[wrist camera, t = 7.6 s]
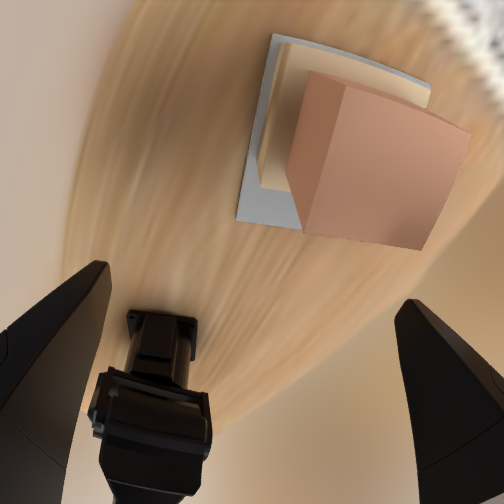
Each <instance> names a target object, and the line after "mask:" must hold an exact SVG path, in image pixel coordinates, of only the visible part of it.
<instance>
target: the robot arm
mask: <svg viewBox="0 0 504 504" xmlns="http://www.w3.org/2000/svg"><path fill="white" fill-rule="evenodd" d="M111 290H112V282H111V273H110V266H109V263H108V262H106V261H99V260H94V261H92V262H91V263H90V264H88V265H87V266H86V267H84V268H83V269H81V270H80V271H79V272H77V273H76V274H75V275H73V276H72V277H71V278H69V279H68V280H67V281H65V282H64V283H63V284H61V285H60V286H59V287H57V288H56V289H55V290H53V291H52V292H51V293H49V294H48V295H47V296H46V297H44V298H43V299H42V300H40V301H39V302H38V303H37V304H35V305H34V306H33V307H32V308H30V309H29V310H28V311H27V312H26V313H24V314H23V315H22V316H21V317H20V318H18V319H17V320H16V321H14V322H13V323H12V324H11V325H10V326H8V327H7V330H6V329H5V330H4V331H2V332H1V333H0V504H61V499H62V492H63V486H64V480H65V475H66V468H67V463H68V458H69V453H70V448H71V444H72V439H73V435H74V431H75V426H76V422H77V418H78V414H79V410H80V407H81V403H82V399H83V395H84V392H85V388H86V385H87V381H88V378H89V374H90V371H91V368H92V365H93V361H94V358H95V355H96V352H97V349H98V346H99V342H100V339H101V335H102V330H103V325H104V321H105V316H106V312H107V308H108V303H109V299H110V295H111ZM126 317H127V323H128V328H129V334H130V340H131V344H130V348H129V352H128V356H127V360H126V364H125V368H124V372H123V371H120V370H117V369H115V368H114V367H111V366H109V367H108V371H107V372H104V373H99V376H98V380H97V384H96V387H95V391H94V394H93V397H92V400H91V403H90V406H89V409H88V414H87V415H88V417H89V419H90V421H91V422H92V428H94V430H93V437H96V438H99V439H102V442H101V448H100V454H99V464H100V466H101V469H102V471H103V473H104V476H105V478H106V480H107V482H108V484H109V487H110V489H111V491H112V493H113V495H114V496H113V504H179V503H180V502H181V501H182V500H183V498H184V497H185V496H194V494H195V493H196V492H197V490H198V489H199V488H200V486H201V473H202V463H203V461H205V460H206V459H207V457H208V455H209V452H210V449H211V444H212V433H213V432H212V423H211V415H210V406H209V398H208V393H205V392H201V393H200V392H196V391H192V390H188V389H187V385H188V375H189V365H190V361H194V360H195V351H196V338H197V327H198V322H197V320H195V319H190V318H182V317H175V316H167V315H160V314H153V313H146V312H140V311H133V310H130V311H128V312H127V316H126ZM394 323H395V331H396V338H397V345H398V353H399V361H400V367H401V372H402V376H403V381H404V386H405V391H406V397H407V402H408V408H409V414H410V420H411V426H412V433H413V440H414V448H415V455H416V464H417V472H418V473H417V475H418V487H419V500H420V504H504V378H503V377H502V376H501V375H500V374H499V373H498V372H497V371H496V370H495V369H494V368H493V367H492V366H491V365H489V364H488V362H487V361H485V360H484V358H482V357H481V356H480V355H479V354H478V353H477V352H476V351H475V350H474V349H473V348H472V347H471V346H470V345H469V344H468V343H467V342H466V341H464V340H463V339H462V338H461V337H460V336H459V335H458V334H457V333H456V332H455V331H454V330H452V329H451V328H450V327H449V326H448V325H447V324H446V323H445V322H443V321H442V320H441V319H440V318H439V317H438V316H437V315H436V314H434V313H433V312H432V311H431V310H430V309H429V308H428V307H426V306H425V305H424V304H423V303H422V302H421V301H420V300H418V299H407V300H406V301H405V302H404V304H403V305H402V307H401V308H400V310H399V311H398V313H397V314H396V316H395V320H394Z"/></svg>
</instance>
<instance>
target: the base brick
mask: <svg viewBox="0 0 504 504" xmlns="http://www.w3.org/2000/svg"><path fill="white" fill-rule="evenodd" d="M310 70H312V71H316V72H320V73H324V74H328V75H331V76H335V77H339V78H342V79H345V80H349V81H352V82H355V83H359V84H362V85H365V86H368V87H371V88H374V89H377V90H380V91H383V92H386V93H388V94H391V95H394V96H397V97H399V98H402V99H404V100H407V101H410V102H412V103H414V104H416V105H418V106H420V107H422V108H424V109H426V106H427V103H428V100H429V97H430V94H431V90H430V89H427V88H425V87H423V86H421V85H419V84H416V83H414V82H412V81H410V80H407V79H405V78H402V77H400V76H397V75H395V74H392V73H390V72H387V71H385V70H382V69H379V68H377V67H374V66H371V65H368V64H365V63H363V62H360V61H357V60H354V59H350V58H347V57H344V56H341V55H337V54H334V53H331V52H327V51H324V50H320V49H316V48H312V47H308V46H304V45H300V44H296V43H281V44H280V49H279V54H278V58H277V63H276V67H275V72H274V77H273V81H272V86H271V90H270V95H269V100H268V105H267V109H266V114H265V119H264V123H263V128H262V133H261V138H260V143H259V147H258V152H257V157H256V159H257V167H258V175H259V183H260V188H267V189H273V190H279V191H285V192H291V190H290V186H289V183H288V180H287V177H286V174H285V172H286V168H287V164H288V159H289V155H290V151H291V147H292V143H293V139H294V135H295V130H296V126H297V122H298V118H299V114H300V110H301V105H302V101H303V97H304V93H305V88H306V84H307V80H308V76H309V71H310Z"/></svg>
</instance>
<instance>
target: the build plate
mask: <svg viewBox="0 0 504 504" xmlns="http://www.w3.org/2000/svg"><path fill="white" fill-rule="evenodd" d="M281 43H296V44H300V45H304V46H308V47H312V48H316V49H320V50H324V51H327V52H331V53H334V54H337V55H341V56H344V57H347V58H350V59H354V60H357V61H360V62H363V63H365V64H368V65H371V66H374V67H377V68H379V69H382V70H385V71H387V72H390V73H392V74H395V75H397V76H400V77H402V78H405V79H407V80H410V81H412V82H414V83H416V84H419V85H421V86H423V87H425V88H427V89H430V87H431V85H430V84H428V83H425V82H423V81H421V80H419V79H417V78H414V77H412V76H410V75H407V74H405V73H403V72H400V71H398V70H395V69H393V68H390V67H388V66H385V65H383V64H380V63H377V62H375V61H372V60H369V59H366V58H363V57H361V56H358V55H355V54H352V53H348V52H345V51H342V50H339V49H335V48H332V47H329V46H325V45H321V44H318V43H314V42H310V41H306V40H302V39H298V38H293V37H289V36H284V35H280V34H275V33H273V34H272V37H271V42H270V46H269V51H268V56H267V60H266V65H265V70H264V75H263V79H262V84H261V89H260V94H259V99H258V104H257V109H256V114H255V119H254V124H253V129H252V134H251V139H250V144H249V149H248V154H247V160H246V165H245V170H244V175H243V181H242V186H241V191H240V197H239V202H238V208H237V213H236V221H242V222H249V223H256V224H264V225H271V226H278V227H285V228H292V229H298V230H302V226H301V223H300V219H299V216H298V213H297V209H296V206H295V203H294V199H293V196H292V193H291V192H285V191H279V190H273V189H267V188H260V183H259V175H258V167H257V159H256V157H257V152H258V147H259V143H260V138H261V133H262V128H263V123H264V119H265V114H266V109H267V105H268V100H269V95H270V90H271V86H272V81H273V77H274V72H275V67H276V63H277V58H278V54H279V49H280V44H281Z"/></svg>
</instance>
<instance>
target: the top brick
mask: <svg viewBox="0 0 504 504" xmlns="http://www.w3.org/2000/svg"><path fill="white" fill-rule="evenodd" d="M472 136H473V135H471V134H470V133H468V132H466V131H465V130H463V129H461V128H460V127H458V126H456V125H454V124H453V123H451V122H449V121H447V120H445V119H443V118H442V117H440V116H438V115H436V114H434V113H432V112H430V111H428V110H426V109H424V108H422V107H420V106H418V105H416V104H414V103H412V102H410V101H407V100H404V99H402V98H399V97H397V96H394V95H391V94H388V93H386V92H383V91H380V90H377V89H374V88H371V87H368V86H365V85H362V84H359V83H355V82H352V81H349V80H345V79H342V78H339V77H335V76H331V75H328V74H324V73H320V72H316V71H312V70H310V71H309V76H308V80H307V84H306V88H305V93H304V97H303V101H302V105H301V110H300V114H299V118H298V122H297V126H296V130H295V135H294V139H293V143H292V147H291V151H290V155H289V159H288V164H287V168H286V172H285V174H286V177H287V180H288V183H289V186H290V190H291V193H292V196H293V199H294V203H295V206H296V209H297V213H298V216H299V219H300V223H301V226H302V230H303V233H309V234H316V235H323V236H330V237H337V238H343V239H350V240H357V241H363V242H370V243H376V244H383V245H389V246H395V247H401V248H408V249H414V250H420V251H421V250H422V248H423V246H424V244H425V242H426V240H427V238H428V237H429V235H430V233H431V231H432V229H433V227H434V225H435V223H436V221H437V219H438V216H439V214H440V212H441V210H442V208H443V206H444V204H445V202H446V199H447V197H448V195H449V193H450V191H451V188H452V186H453V184H454V181H455V179H456V177H457V174H458V172H459V170H460V167H461V165H462V162H463V160H464V157H465V155H466V152H467V149H468V147H469V144H470V141H471V139H472Z"/></svg>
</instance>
